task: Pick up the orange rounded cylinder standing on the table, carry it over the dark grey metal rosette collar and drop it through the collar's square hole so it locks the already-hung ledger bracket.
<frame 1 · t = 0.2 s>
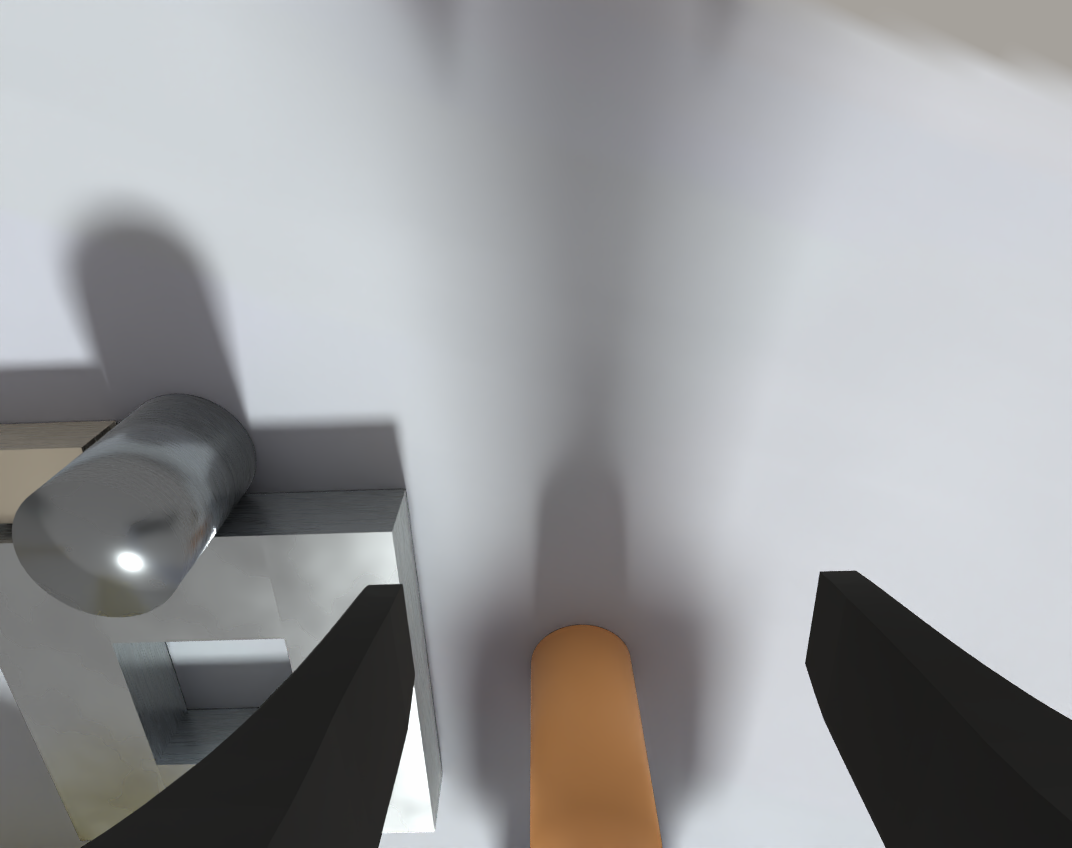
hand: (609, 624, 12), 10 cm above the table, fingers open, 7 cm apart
orange rounded cylinder: (580, 663, 26), on the table
rosette node: (244, 652, 26), on the table
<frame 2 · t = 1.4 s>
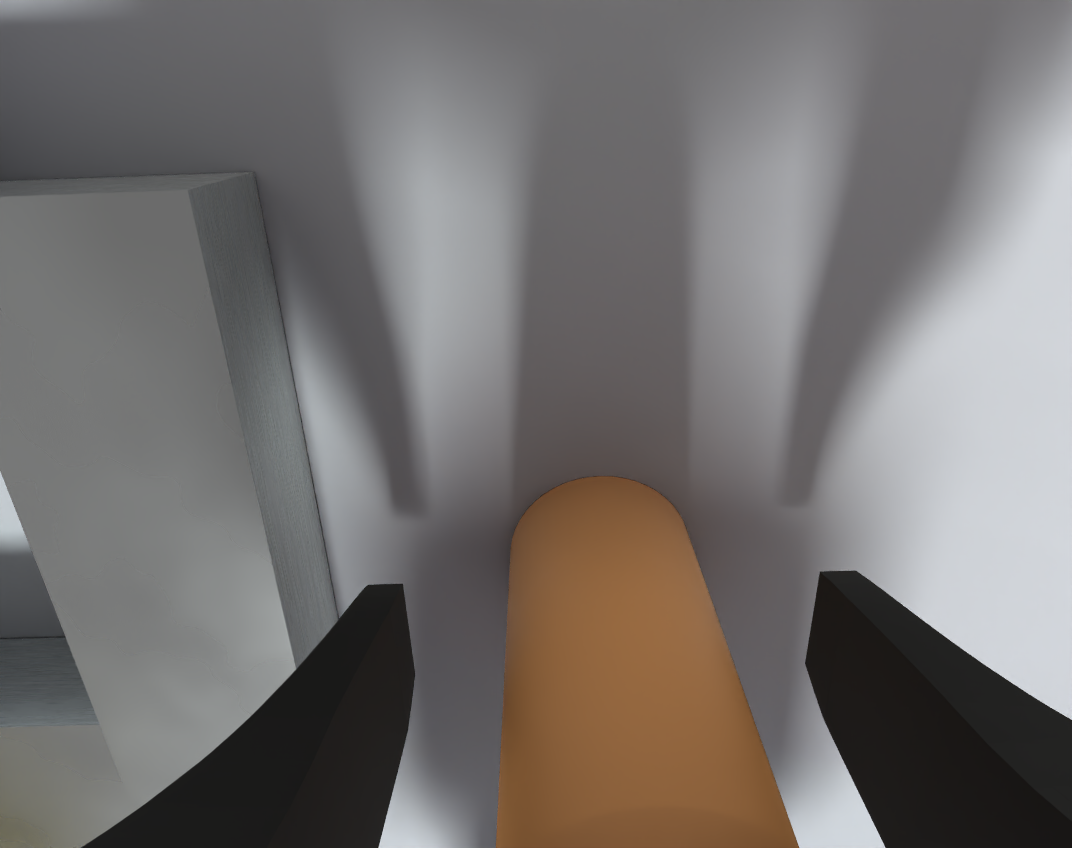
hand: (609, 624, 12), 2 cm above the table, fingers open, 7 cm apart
orange rounded cylinder: (599, 554, 14), on the table
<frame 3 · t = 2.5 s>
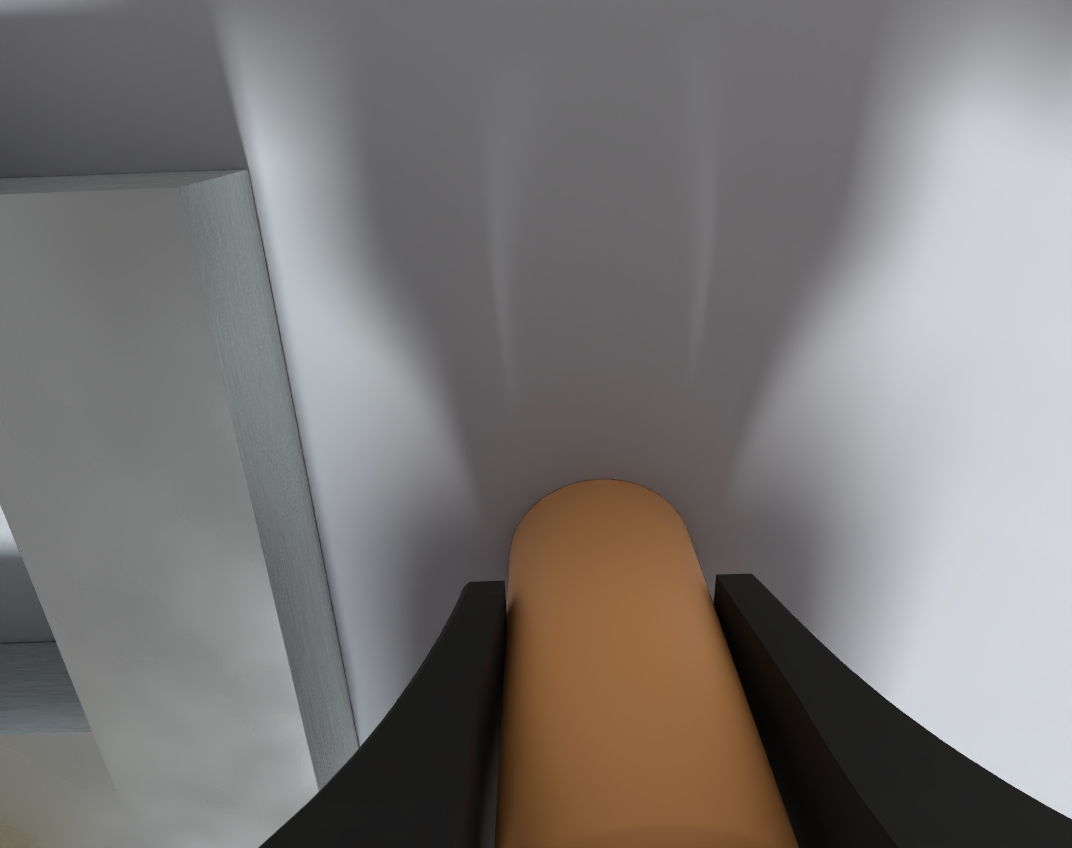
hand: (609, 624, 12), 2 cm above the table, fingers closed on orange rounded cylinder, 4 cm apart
orange rounded cylinder: (600, 558, 14), on the table, touching gripper
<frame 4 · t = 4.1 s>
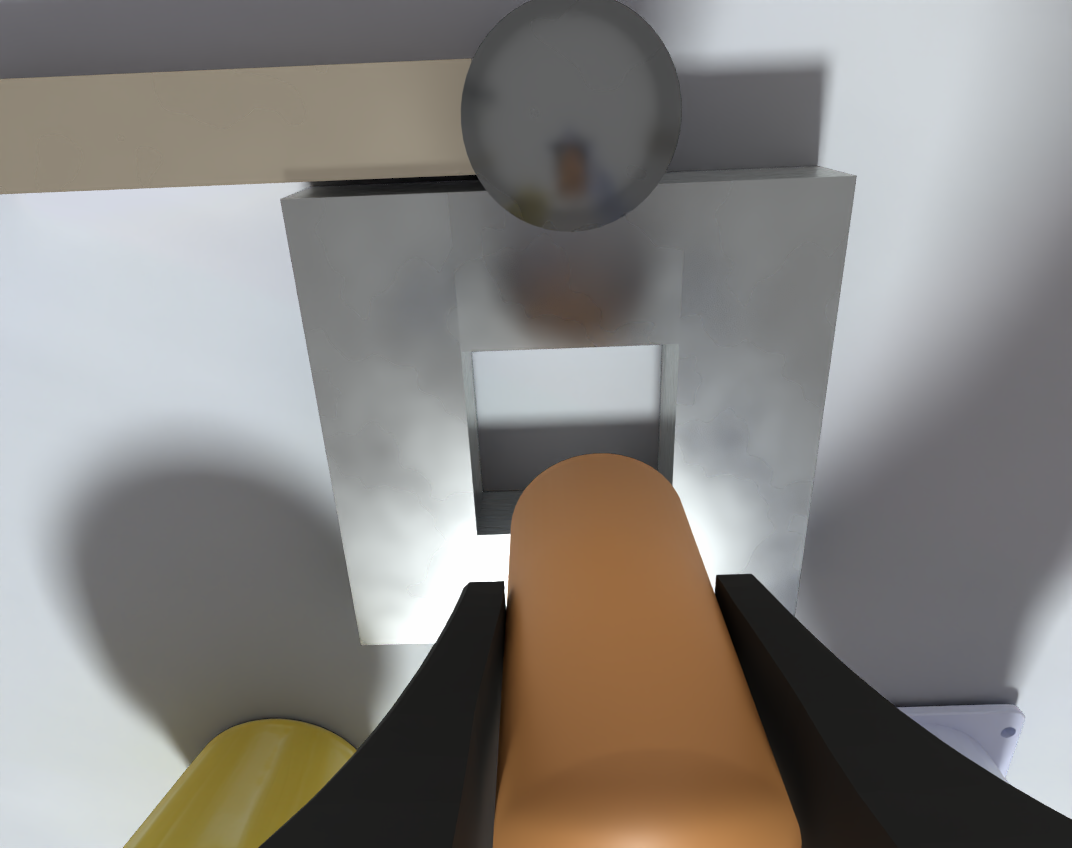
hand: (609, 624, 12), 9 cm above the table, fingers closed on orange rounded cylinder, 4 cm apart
plant pot: (291, 772, 28), on the table
orange rounded cylinder: (598, 531, 15), point 7 cm above the table, touching gripper
rosette node: (568, 409, 21), on the table
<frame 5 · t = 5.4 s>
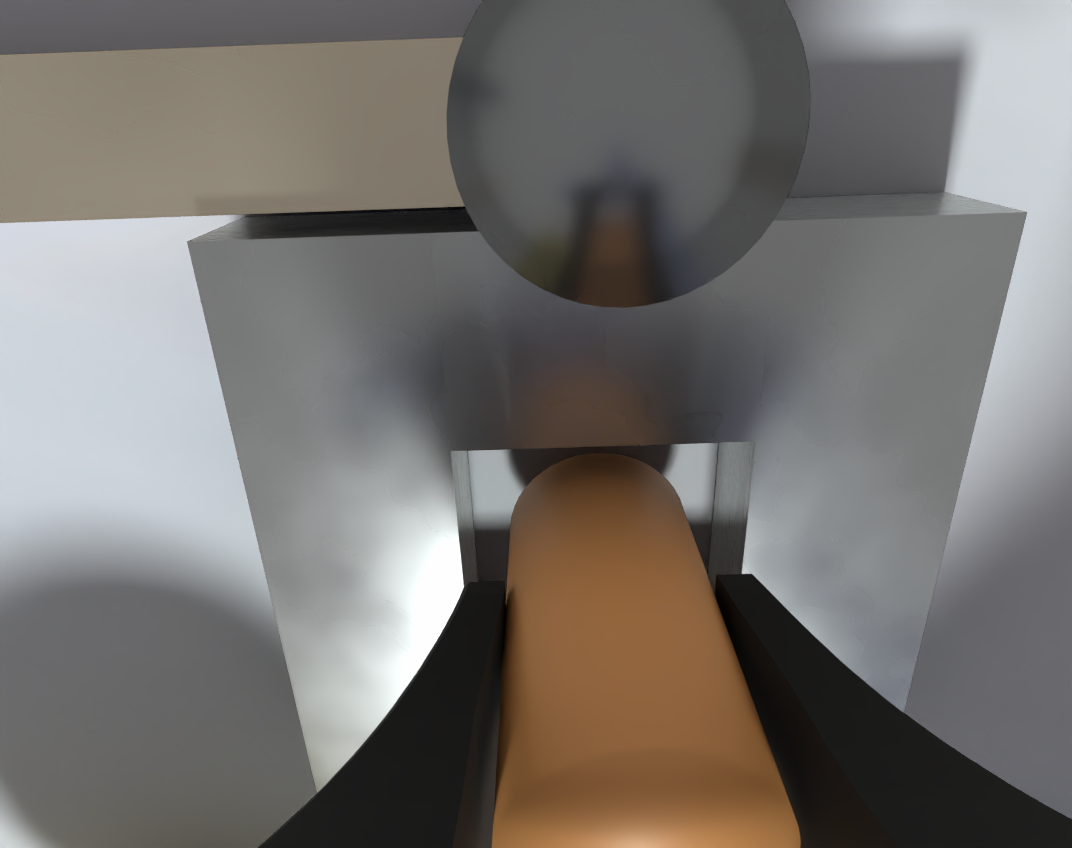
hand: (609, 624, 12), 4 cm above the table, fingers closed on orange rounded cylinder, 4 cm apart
orange rounded cylinder: (597, 530, 15), point 1 cm above the table, touching gripper
rosette node: (592, 506, 16), on the table
when the fingers open (4 cm above the table, at t = 6.0 s): orange rounded cylinder drops 1 cm, resting in rosette node.
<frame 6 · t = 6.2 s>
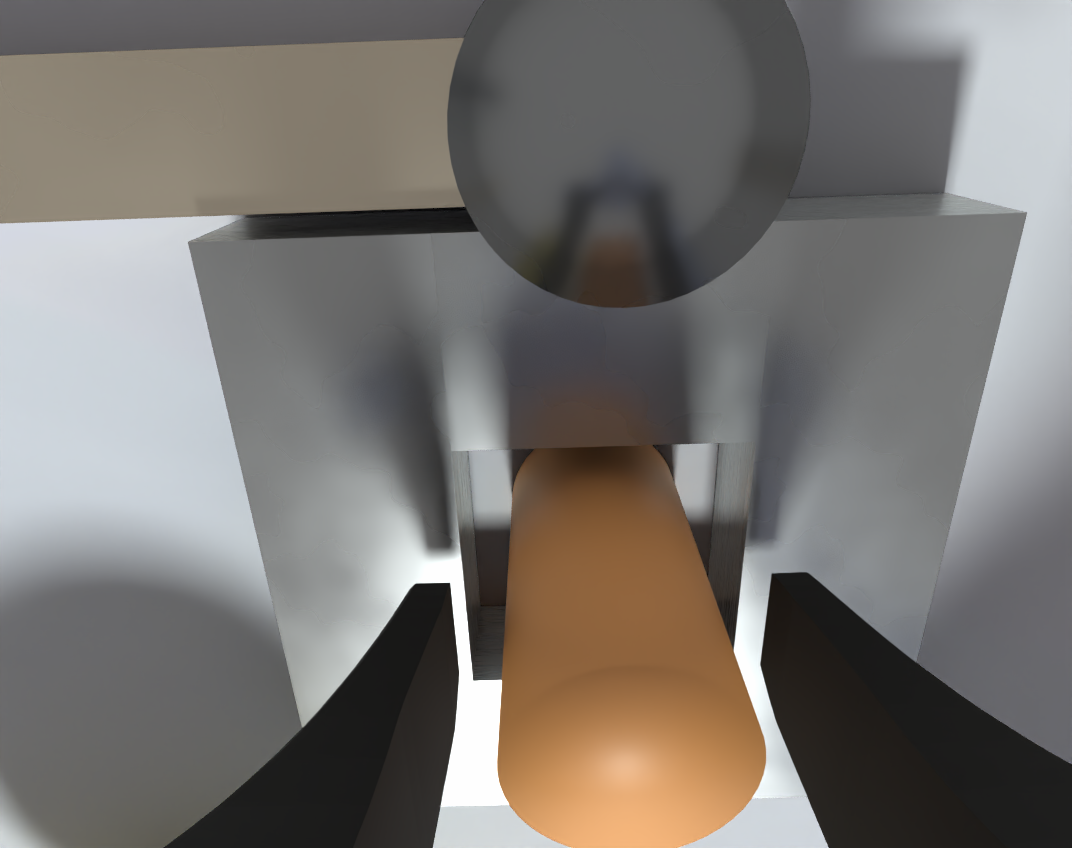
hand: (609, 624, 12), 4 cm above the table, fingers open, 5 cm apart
orange rounded cylinder: (593, 498, 16), resting in rosette node
rosette node: (593, 506, 16), on the table
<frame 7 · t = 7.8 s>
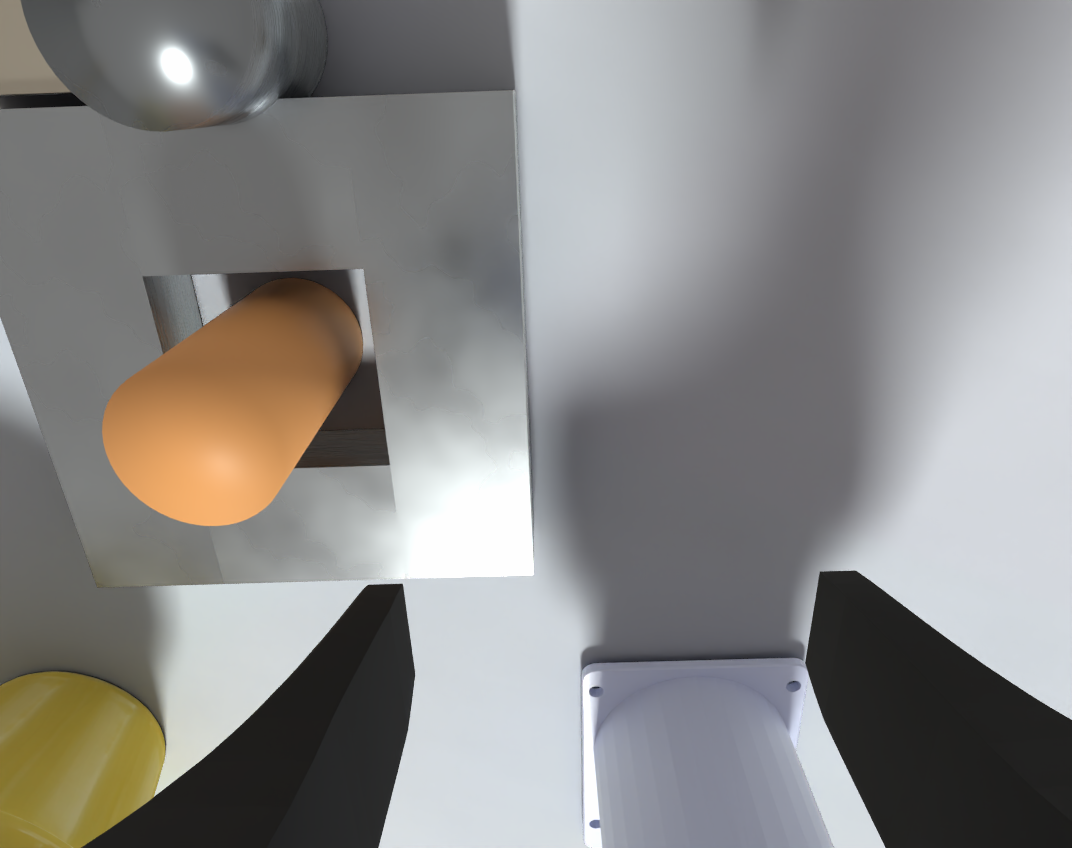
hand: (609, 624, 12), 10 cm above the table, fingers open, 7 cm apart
plant pot: (83, 728, 27), on the table
orange rounded cylinder: (300, 340, 21), resting in rosette node
rosette node: (300, 346, 21), on the table
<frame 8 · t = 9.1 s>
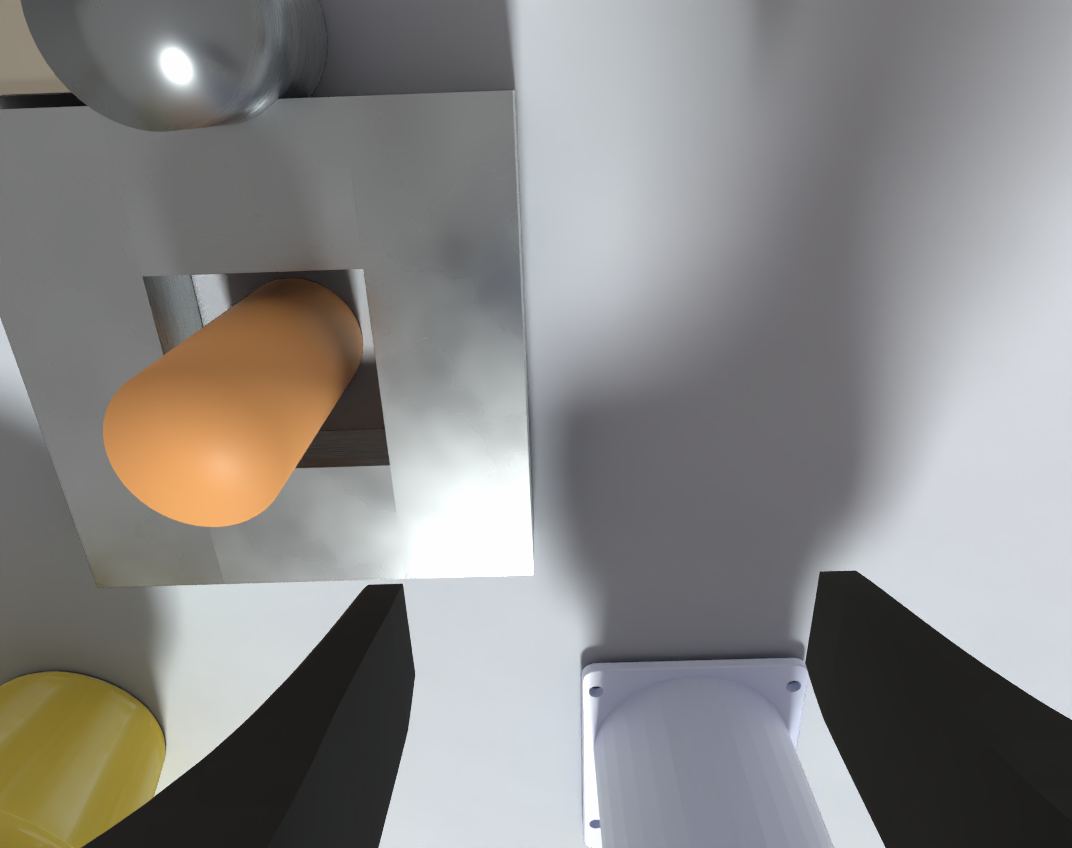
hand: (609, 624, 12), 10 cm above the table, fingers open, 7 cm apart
plant pot: (83, 728, 27), on the table
orange rounded cylinder: (300, 340, 21), resting in rosette node
rosette node: (300, 346, 21), on the table
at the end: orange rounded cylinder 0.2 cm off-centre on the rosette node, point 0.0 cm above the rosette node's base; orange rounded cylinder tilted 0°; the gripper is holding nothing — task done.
